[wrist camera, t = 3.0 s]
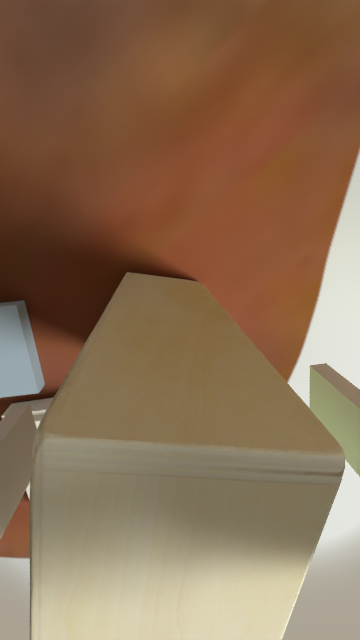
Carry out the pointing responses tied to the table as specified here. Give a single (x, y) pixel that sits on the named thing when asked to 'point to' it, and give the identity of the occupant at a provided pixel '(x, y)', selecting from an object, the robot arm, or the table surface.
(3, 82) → the table surface
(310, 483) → the tall cream block
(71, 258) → the table surface
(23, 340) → the book
